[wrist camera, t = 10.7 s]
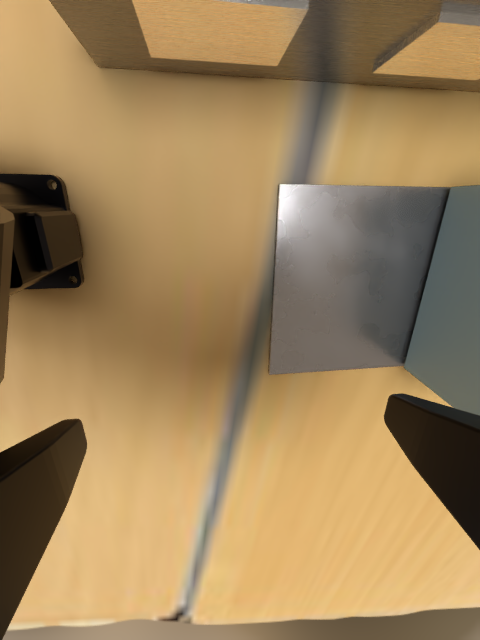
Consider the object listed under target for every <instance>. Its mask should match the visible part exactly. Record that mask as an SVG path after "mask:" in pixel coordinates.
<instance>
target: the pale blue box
mask: <svg viewBox="0 0 480 640" xmlns="http://www.w3.org/2000/svg"><path fill="white" fill-rule="evenodd" d="M404 368H405V369H406V370H407V371H408V372H410V373H411V374H412V375H413V376H415V377H416V378H417V379H418V380H420V381H421V382H422V383H423V384H425V385H426V386H427V387H428V388H430V389H431V390H432V391H433V392H435V393H436V394H437V395H438V396H440V397H441V398H442V399H443V400H445V401H446V402H447V403H448V404H450V405H451V406H452V407H453V408H455V409H459V410H462V411H466V412H469V413H473V414H476V415H480V185H474V186H459V187H451V189H450V193H449V197H448V201H447V204H446V208H445V212H444V216H443V220H442V224H441V227H440V231H439V235H438V239H437V243H436V246H435V250H434V254H433V258H432V262H431V266H430V269H429V273H428V277H427V281H426V285H425V289H424V292H423V296H422V300H421V304H420V308H419V311H418V315H417V319H416V323H415V327H414V331H413V334H412V338H411V342H410V346H409V350H408V354H407V357H406V361H405V365H404Z"/></svg>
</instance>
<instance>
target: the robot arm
mask: <svg viewBox="0 0 480 640" xmlns="http://www.w3.org/2000/svg"><path fill="white" fill-rule="evenodd" d="M53 180H54V181H55V182H56V184H57V188H56V189H53V188H52V187H51V182H52V181H53ZM82 256H83V253H82V248H81V243H80V238H79V233H78V228H77V223H76V218H75V214H73V213H72V212H71V211H70V209H69V204H68V199H67V194H66V189H65V185H64V182H63V181H62V180H61V178H59V177H57V176H53V175H35V174H0V383H1V382H2V380H3V378H4V369H5V354H6V340H7V325H8V311H9V296H10V295H12V294H14V293H16V292H18V291H20V290H22V289H48V288H76V287H79V286H80V285H82V284H83V282H84V278H83V273H82V268H81V263H80V259H81V257H82ZM72 276H74V277H76V278H77V283H76V282H73V281H72V279H71V277H72ZM384 420H385V423H386V426H387V427H388V429H389V430H390V432H391V433H392V435H393V436H394V438H395V439H396V441H397V442H398V444H399V445H400V447H401V449H402V450H403V452H404V453H405V455H406V456H407V458H408V459H409V461H410V462H411V464H412V465H413V466H414V468H415V469H416V470H417V472H418V473H419V474H420V475H421V477H422V478H423V479H424V480H425V482H426V483H427V484H428V486H429V487H430V488H431V489H432V491H433V492H434V493H435V494H436V496H437V497H438V498H439V499H440V501H441V502H442V503H443V504H444V506H445V507H446V508H447V509H448V511H449V512H450V513H451V514H452V516H453V517H454V518H455V519H456V521H457V522H458V523H459V525H460V526H461V527H462V528H463V530H464V531H465V532H466V533H467V535H468V536H469V537H470V538H471V540H472V541H473V542H474V543H475V545H476V546H477V547H478V548H479V550H480V415H476V414H473V413H469V412H466V411H462V410H459V409H455V408H452V407H448V406H445V405H441V404H438V403H435V402H431V401H428V400H424V399H421V398H417V397H414V396H410V395H407V394H392V395H390V396H389V398H388V402H387V406H386V410H385V414H384ZM86 450H87V440H86V437H85V433H84V429H83V425H82V422H81V420H79V419H67V420H63V421H60V422H59V423H57V424H55V425H53V426H51V427H49V428H47V429H45V430H43V431H41V432H39V433H37V434H35V435H33V436H31V437H30V438H28V439H26V440H24V441H22V442H20V443H18V444H16V445H14V446H12V447H10V448H8V449H6V450H4V451H2V452H1V453H0V640H2V639H3V636H4V635H5V632H6V631H7V629H8V626H9V624H10V622H11V620H12V618H13V616H14V614H15V612H16V610H17V608H18V606H19V604H20V602H21V599H22V597H23V595H24V593H25V591H26V589H27V587H28V585H29V583H30V581H31V579H32V577H33V575H34V572H35V570H36V568H37V566H38V564H39V562H40V560H41V558H42V556H43V554H44V552H45V550H46V548H47V545H48V543H49V541H50V539H51V537H52V535H53V533H54V531H55V529H56V527H57V525H58V523H59V521H60V518H61V516H62V514H63V512H64V510H65V508H66V506H67V503H68V501H69V498H70V496H71V493H72V490H73V487H74V484H75V482H76V479H77V476H78V473H79V470H80V468H81V465H82V462H83V459H84V456H85V454H86Z"/></svg>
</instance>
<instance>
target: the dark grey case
mask: <svg viewBox="0 0 480 640" xmlns="http://www.w3.org/2000/svg"><path fill="white" fill-rule="evenodd" d="M49 1H50V2H51V4H52V5H53V6H54V8H55V9H56V10H57V12H58V13H59V14H60V16H61V17H62V19H63V20H64V21H65V23H66V24H67V25H68V27H69V28H70V29H71V31H72V32H73V33H74V35H75V36H76V37H77V39H78V40H79V42H80V43H81V44H82V46H83V47H84V48H85V50H86V51H87V52H88V54H89V55H90V56H91V58H92V59H93V60H94V62H95V63H96V65H97V66H98V67H107V68H122V69H137V70H153V71H168V72H184V73H199V74H214V75H230V76H245V77H260V78H276V79H291V80H307V81H322V82H337V83H353V84H368V85H383V86H399V87H414V88H430V89H445V90H460V91H476V92H480V0H49ZM450 189H451V187H401V186H346V185H290V184H279V188H278V207H277V225H276V244H275V263H274V281H273V300H272V318H271V337H270V356H269V375H272V374H287V373H302V372H317V371H332V370H348V369H363V368H378V367H393V366H404V365H405V361H406V357H407V354H408V350H409V346H410V342H411V338H412V334H413V331H414V327H415V323H416V319H417V315H418V311H419V308H420V304H421V300H422V296H423V292H424V289H425V285H426V281H427V277H428V273H429V269H430V266H431V262H432V258H433V254H434V250H435V246H436V243H437V239H438V235H439V231H440V227H441V224H442V220H443V216H444V212H445V208H446V204H447V201H448V197H449V193H450Z"/></svg>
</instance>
